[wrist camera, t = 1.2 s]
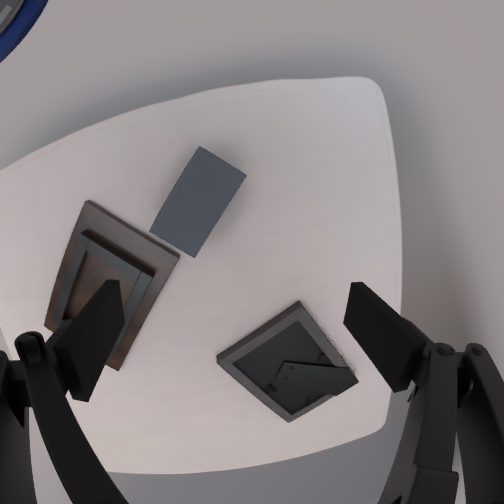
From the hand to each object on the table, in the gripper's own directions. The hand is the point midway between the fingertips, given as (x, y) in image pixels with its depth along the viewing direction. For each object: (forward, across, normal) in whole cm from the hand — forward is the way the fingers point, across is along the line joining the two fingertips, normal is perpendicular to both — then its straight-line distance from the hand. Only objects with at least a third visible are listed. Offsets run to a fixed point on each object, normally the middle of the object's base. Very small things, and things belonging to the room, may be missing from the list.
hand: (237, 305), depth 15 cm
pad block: (+18, -3, +4) cm, 19 cm away
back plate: (+18, -16, -8) cm, 25 cm away
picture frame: (+18, +10, -20) cm, 28 cm away
